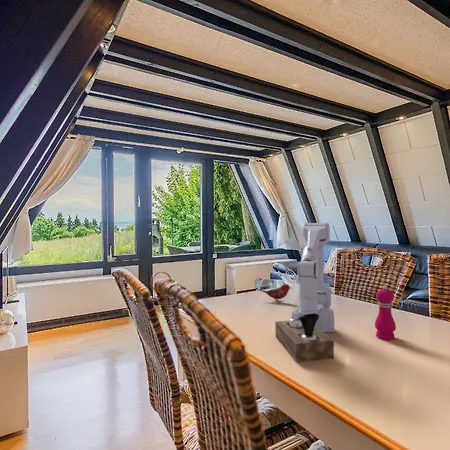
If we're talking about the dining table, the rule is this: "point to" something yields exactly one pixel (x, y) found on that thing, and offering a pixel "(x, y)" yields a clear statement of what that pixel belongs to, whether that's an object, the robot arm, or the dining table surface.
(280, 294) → the decorative bird figurine
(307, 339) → the knob
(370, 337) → the dining table surface
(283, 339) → the housing
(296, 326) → the knob
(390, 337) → the pepper mill
